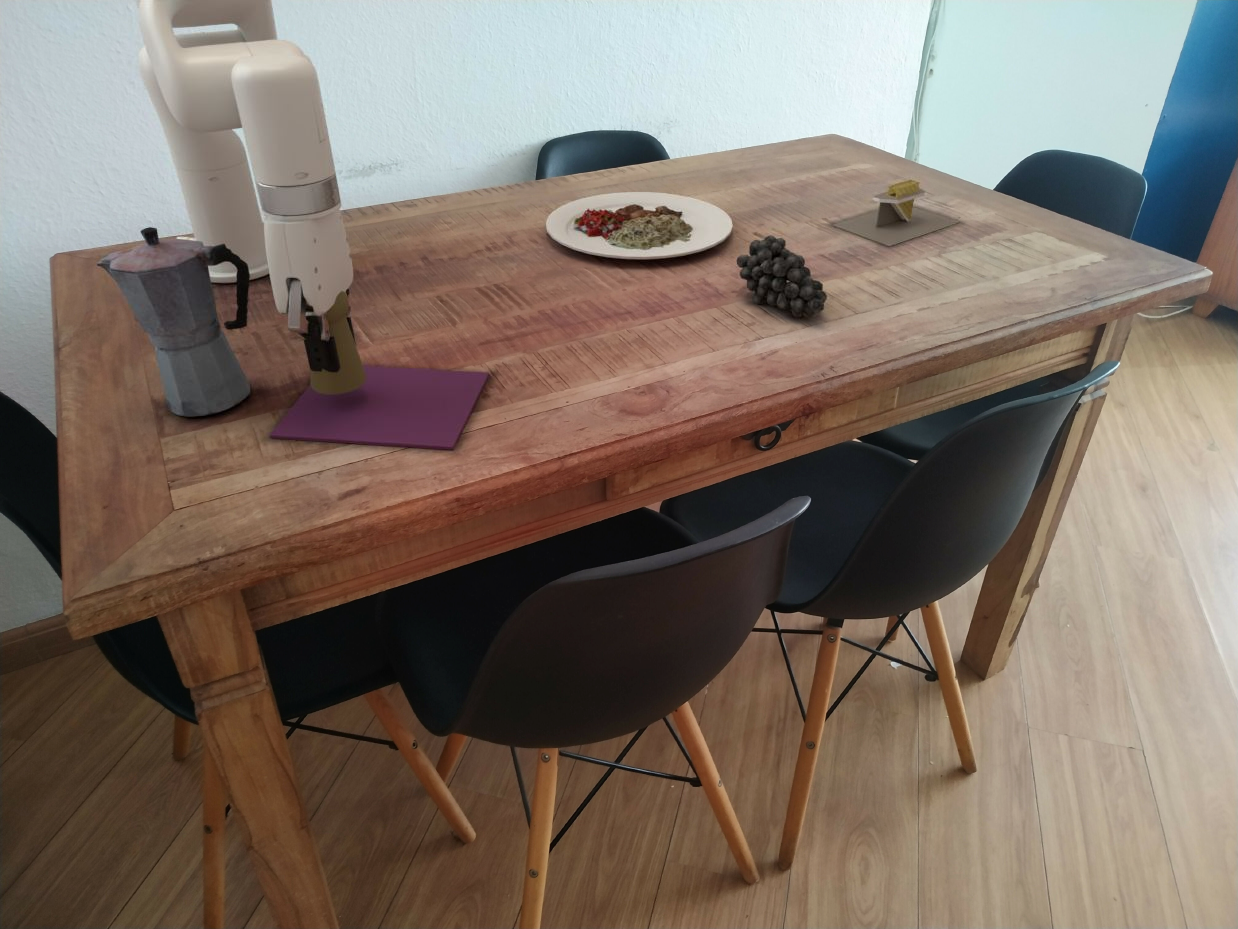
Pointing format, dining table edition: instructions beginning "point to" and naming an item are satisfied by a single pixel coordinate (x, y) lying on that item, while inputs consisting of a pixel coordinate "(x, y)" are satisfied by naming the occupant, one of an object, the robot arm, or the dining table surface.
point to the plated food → (639, 225)
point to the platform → (896, 217)
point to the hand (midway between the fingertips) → (333, 358)
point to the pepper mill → (339, 353)
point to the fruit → (781, 278)
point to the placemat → (389, 409)
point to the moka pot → (185, 319)
